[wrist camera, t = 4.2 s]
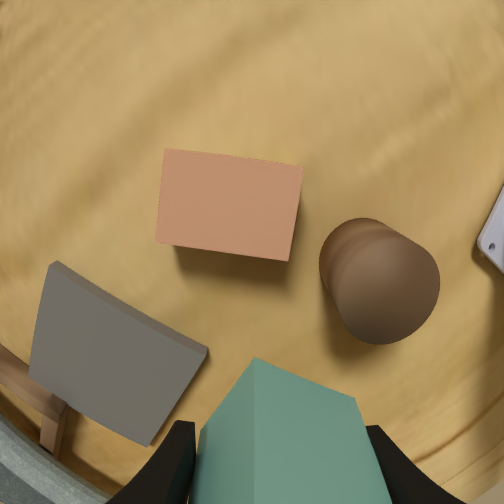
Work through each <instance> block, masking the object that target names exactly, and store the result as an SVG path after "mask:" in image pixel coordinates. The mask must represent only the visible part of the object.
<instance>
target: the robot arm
mask: <svg viewBox="0 0 504 504" xmlns="http://www.w3.org/2000/svg"><path fill="white" fill-rule="evenodd" d="M490 244H491V247H490V249H489V245H490ZM477 246H478V248H479V250H480V251H481V252H482V253H483V254H484V255H485V256H486V257H487V258H488V259H489V260H490V261H491V262H492V263H493V264H494V265H495V266H496V267H497V268H498V269H499V270H500V271H501V272H502V273H503V274H504V186H503V188H502V191H501V193H500V195H499V197H498V199H497V201H496V203H495V206H494V208H493V210H492V212H491V214H490V216H489V218H488V220H487V222H486V224H485V226H484V227H483V229H482V231H481V233H480V235H479V237H478V240H477ZM365 427H366V431H367V434H368V437H369V439H370V442H371V445H372V447H373V449H374V452H375V455H376V458H377V460H378V463H379V466H380V469H381V472H382V475H383V478H384V480H385V483H386V486H387V489H388V492H389V495H390V498H391V501H392V504H466V503H464V502H463V501H461V500H459V499H457V498H456V497H454V496H453V495H451V494H449V493H448V492H447V491H445V490H444V489H442V488H441V487H440V486H438V485H437V484H436V483H434V482H433V481H432V480H431V479H430V478H429V477H427V476H426V475H425V474H424V473H423V472H422V471H421V470H420V469H419V468H417V467H416V466H415V465H414V464H413V463H412V462H411V461H410V459H409V458H408V457H407V456H406V455H405V454H404V453H403V452H402V451H401V450H400V449H399V448H398V447H397V446H396V444H395V443H394V442H393V441H392V440H391V439H390V438H389V437H388V436H387V434H386V433H385V432H384V431H383V430H382V429H381V428H380V427H379V425H371V426H365ZM195 462H196V441H195V422H188V421H181V420H177V421H175V422H174V424H173V426H172V428H171V429H170V431H169V433H168V434H167V436H166V437H165V439H164V440H163V442H162V443H161V445H160V446H159V447H158V449H157V450H156V451H155V453H154V454H153V455H152V457H151V458H150V459H149V461H148V462H147V463H146V464H145V465H144V466H143V468H142V469H141V470H140V471H139V472H138V473H137V474H136V475H135V477H134V478H133V479H132V480H131V481H130V482H129V483H128V484H127V485H126V486H125V487H124V488H123V489H121V490H120V491H119V492H118V493H117V494H116V495H115V496H113V497H112V498H111V499H110V500H108V501H107V502H106V503H105V504H187V501H188V497H189V493H190V488H191V482H192V478H193V473H194V467H195Z"/></svg>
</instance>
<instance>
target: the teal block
mask: <svg viewBox="0 0 504 504" xmlns="http://www.w3.org/2000/svg"><path fill="white" fill-rule="evenodd" d="M188 504H392V501H391V498H390V495H389V492H388V489H387V486H386V483H385V480H384V478H383V475H382V472H381V469H380V466H379V463H378V460H377V458H376V455H375V452H374V449H373V447H372V445H371V442H370V439H369V437H368V434H367V431H366V427H365V424H364V422H363V419H362V416H361V414H360V411H359V408H358V406H357V403H356V400H355V398H353V397H351V396H348V395H345V394H343V393H340V392H337V391H335V390H332V389H329V388H327V387H324V386H322V385H319V384H317V383H314V382H312V381H309V380H307V379H304V378H302V377H299V376H297V375H295V374H292V373H290V372H287V371H285V370H283V369H280V368H278V367H276V366H273V365H271V364H269V363H267V362H264V361H262V360H260V359H258V358H255V357H254V358H253V360H252V361H251V363H250V364H249V365H248V367H247V368H246V370H245V371H244V372H243V374H242V375H241V377H240V378H239V379H238V381H237V382H236V384H235V385H234V386H233V388H232V389H231V390H230V392H229V393H228V394H227V396H226V397H225V399H224V400H223V401H222V403H221V404H220V405H219V407H218V408H217V409H216V411H215V412H214V413H213V415H212V416H211V417H210V418H209V420H208V421H207V422H206V424H205V425H204V426H203V428H202V429H201V431H200V437H199V442H198V448H197V454H196V462H195V467H194V473H193V478H192V482H191V488H190V494H189V500H188Z"/></svg>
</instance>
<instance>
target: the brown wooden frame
mask: <svg viewBox="0 0 504 504" xmlns="http://www.w3.org/2000/svg"><path fill="white" fill-rule="evenodd" d="M28 373H29V366H28V365H27V364H25V363H24V362H23V361H21V360H20V359H19V358H18V357H16V356H15V355H14V354H12V353H11V352H10V351H9V350H7V349H6V348H5V347H4V346H2V345H1V344H0V383H1V384H3V385H4V386H5V387H6V388H8V389H9V390H10V391H11V392H13V393H14V394H15V395H17V396H18V397H19V398H21V399H22V400H23V401H25V402H26V403H28V404H29V405H30V406H32V407H33V408H35V409H36V410H38V411H39V412H40V413H42V414H43V416H42V425H41V434H40V444H39V446H40V447H41V448H42V449H44V450H45V451H46V452H48V453H49V454H50V455H52V456H53V457H54V458H56V459H57V460H58V458H59V452H60V447H61V443H62V438H63V433H64V429H65V424H66V420H67V416H68V412H69V408H70V406H69V405H67V404H68V403H67V402H65V401H64V400H62V399H61V398H59V397H57V396H56V395H54V394H53V393H51V392H50V391H48V390H47V389H45V388H44V387H43V386H41V385H40V384H38V383H37V382H35V381H34V380H33V379H31V378H30V377H29V376H28Z"/></svg>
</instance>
